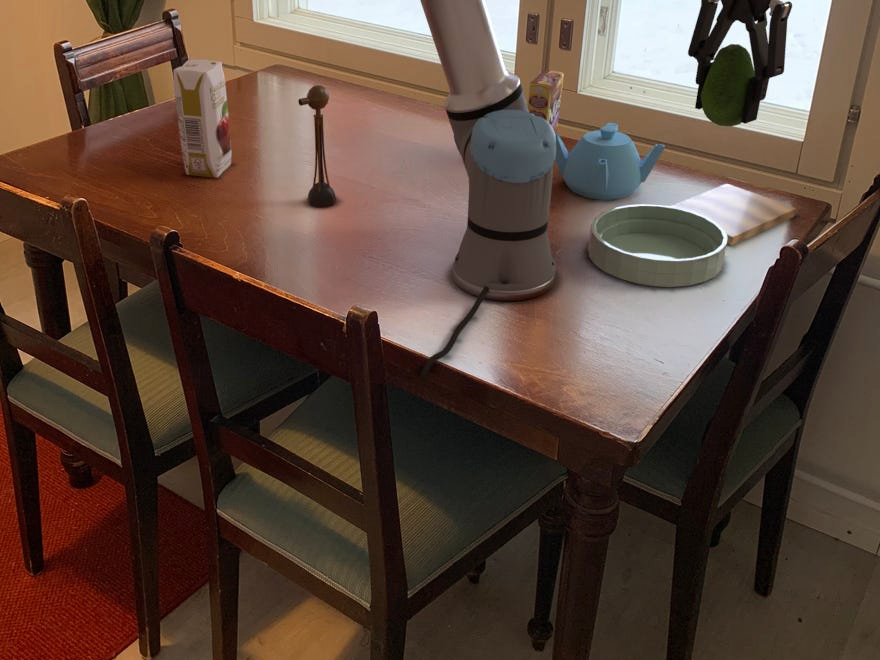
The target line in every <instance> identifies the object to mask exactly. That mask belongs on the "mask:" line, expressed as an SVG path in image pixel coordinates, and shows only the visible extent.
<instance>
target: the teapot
mask: <svg viewBox="0 0 880 660" xmlns="http://www.w3.org/2000/svg"><path fill="white" fill-rule="evenodd" d="M618 127H619V123H617V122H616V123H615V122H607V123H606V125H603V126H601V127H599V129H596V130H591V131H588V132H586V133H585V134H584V135H583V136H581V137H580V138H579V140H578V141H577V142H576V143H575V145H574V146H573V148H572V149H571V150H570V152H569V151H568V149H567V147H566V146H565V144H564V142H563V140H562V138H561V135H560V134H557V135H555V137H556V143H555V144H556V159H555V162H556V166H557V169H558V172H559V174H561V175H562V178H563V180H564V181H563V182H564V183H565V184H566V186H567V187H568V188H569V189H570V191H572V192H573V193H575V194H576V195H578V196H581V197H583V198H587V199H592V200H603V201H609V200H610V201H612V200H619V199H623V198H626V197H629V196H630V195H631V194H632V193H634V192H635V191H636V190H637V189H639V187H640V186H641V184H642V183H645V182H646V180H647V179H648V177H649V175H650V173H651V172H652V170H653V168H654V167H655V165H656V163H657V162H658V160H659V159H660V157H661V155H662V154H663V152H664V151H665V148H666V147H665V146H666V145H665V144H660V143H655V145H653V147H652V149H651V150H650V151H649V152H648V154H646V155H645V157H644V158H643V159H641V157H640V154H639V152H638V150H637V147H636V146H635V143H634V142H633V140H632V138H631V137H630V135H627V134H626V133H623V132H620V131H618V129H619V128H618Z"/></svg>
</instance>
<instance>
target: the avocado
mask: <svg viewBox="0 0 880 660" xmlns="http://www.w3.org/2000/svg"><path fill="white" fill-rule="evenodd" d="M714 58H715V59H714V60H712V62H713V64H712V66H711V68H710V70H709V73H708V75H707V77H706V80H705V83H704V86H703V89H702V92H701V102H702V110H703V113H704V115H705V117H706V118H707V119H708V120H709V121H710V122H711V123H712V124H715V125H717V126H720V127H730V128H731V127H734V126H738V125H739V126H740V125H741V124H743V123H742V122H741V121H742V116H743V110H744V105H745V99H746V94H747V89H748V83H749V78H751V77H754V76H755V72H754V65H753V59H752V56H751V54H750V51H748V49H747V48H746V47H744V46H742V45H741V44H737V43H730V44H728V45H726V46H724V47H721V48H719V49H718V51H717V53H716V54H715V56H714Z"/></svg>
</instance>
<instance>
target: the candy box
mask: <svg viewBox="0 0 880 660" xmlns="http://www.w3.org/2000/svg"><path fill="white" fill-rule="evenodd" d="M564 75H565V74H564V72H562V71H557V70H545V69H544V70H542V71H541V73H539V74H538V75H537V76H536V77H535V78H534V79H533V80H532V81H530V84H529V92H528V102H527V107H528V111H529V113H533V114H534V115H535V117H542V118H543V119H545V120H546V121H547V122H548V123H549V124H550V125H551V126H552V128H553V130H554V132H555V135H558V128H559V127H558V126H559V119H560V118H559V117H560V110H561V100H562V93H563V86H564V85H563V84H564Z"/></svg>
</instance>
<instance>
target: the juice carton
mask: <svg viewBox="0 0 880 660" xmlns="http://www.w3.org/2000/svg"><path fill="white" fill-rule="evenodd" d="M225 78H226V77H225V73H224V69H223V63H222V61H220V60H212V59H211V60H210V59H198V58H197V59H196V58H189V59H187V61H185V62H184V63H183V65H182V66H178V67H176V68H174V69H173V91H174V98H175V100H174V101H175V108H176V116H177V125H178V131H179V141H180V148H181V155H182V156H181V157H182V162H183V167H184V170H185V174H186V175H187V176H193V177H204V178H213V179H217V178H219V177H220V176H221V175H222V174H223V172H224V171H226V170H227V169H228V168H229V167H230V166H231V165H232V156H233V155H232V153H233V152H232V139H231V129H230V119H229V118H230V117H229V110H228V109H229V108H228V98H227V97H228V96H227V87H226V79H225Z"/></svg>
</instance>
